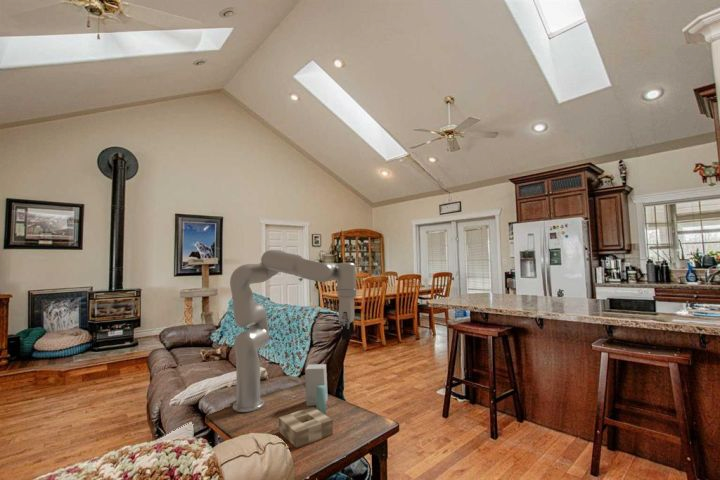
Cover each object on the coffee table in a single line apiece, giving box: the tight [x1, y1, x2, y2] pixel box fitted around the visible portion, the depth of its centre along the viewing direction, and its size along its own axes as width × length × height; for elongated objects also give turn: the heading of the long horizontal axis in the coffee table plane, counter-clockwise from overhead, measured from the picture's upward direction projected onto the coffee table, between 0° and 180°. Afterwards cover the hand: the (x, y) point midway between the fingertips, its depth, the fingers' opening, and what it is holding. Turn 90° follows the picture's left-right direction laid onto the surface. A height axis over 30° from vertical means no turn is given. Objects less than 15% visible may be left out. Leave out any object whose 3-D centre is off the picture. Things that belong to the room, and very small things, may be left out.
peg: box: [315, 385, 327, 416], centre depth 134 cm, size 4×4×12 cm
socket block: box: [278, 406, 334, 449], centre depth 123 cm, size 14×14×5 cm
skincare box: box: [304, 363, 329, 407], centre depth 149 cm, size 8×7×16 cm
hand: (348, 336), depth 138 cm, fingers open, 9 cm apart
